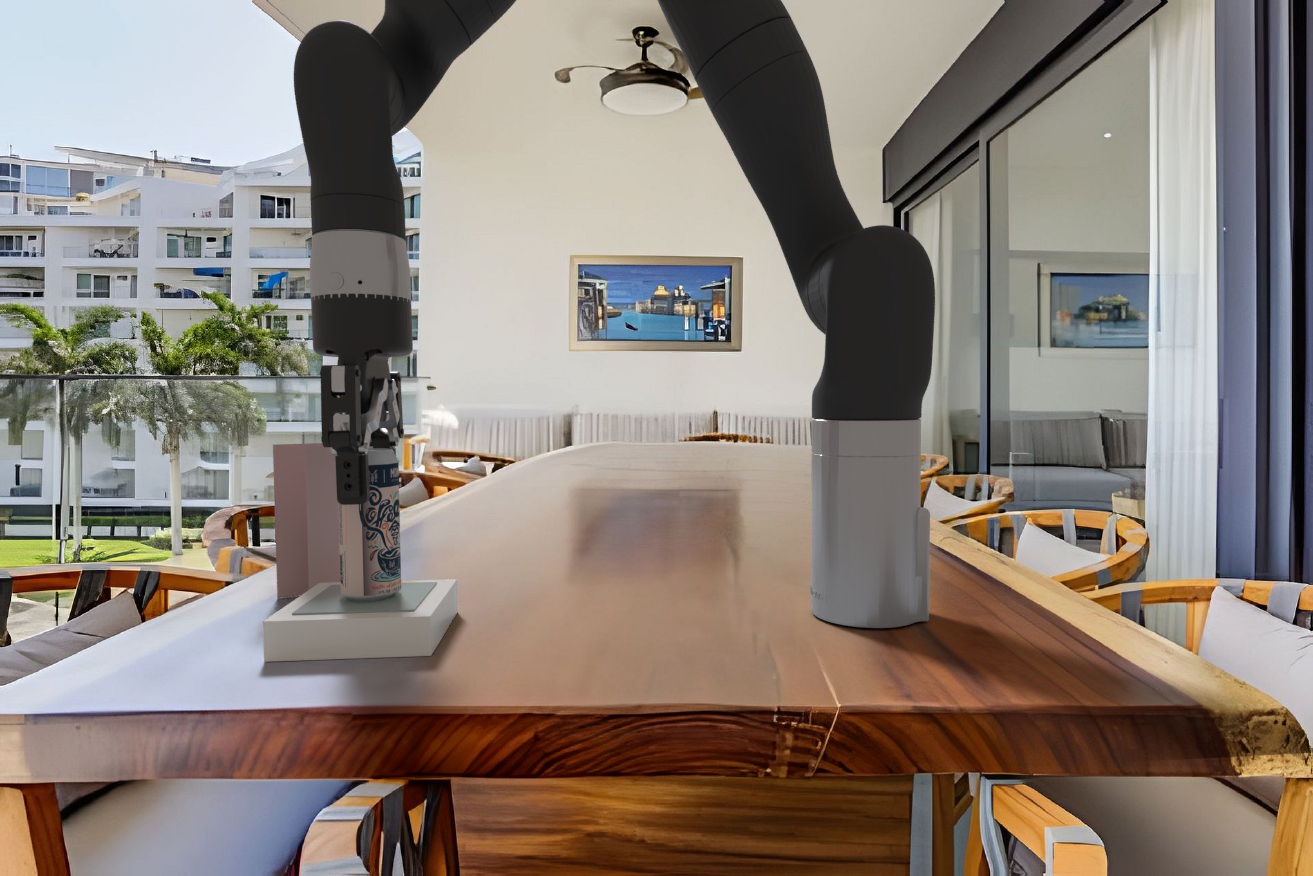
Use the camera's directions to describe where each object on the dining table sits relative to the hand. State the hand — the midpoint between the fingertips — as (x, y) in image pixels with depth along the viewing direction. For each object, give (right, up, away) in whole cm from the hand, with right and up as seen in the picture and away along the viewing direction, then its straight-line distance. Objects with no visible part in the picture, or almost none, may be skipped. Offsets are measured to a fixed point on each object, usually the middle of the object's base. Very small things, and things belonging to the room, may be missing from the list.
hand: (369, 497), depth 62 cm
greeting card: (-7, -11, +13) cm, 18 cm away
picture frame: (0, -11, +1) cm, 11 cm away
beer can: (0, -8, 0) cm, 8 cm away
